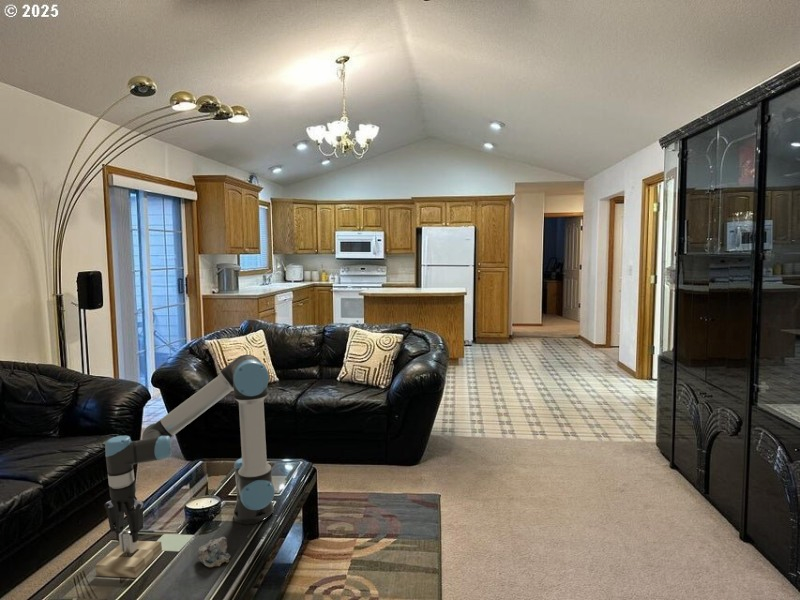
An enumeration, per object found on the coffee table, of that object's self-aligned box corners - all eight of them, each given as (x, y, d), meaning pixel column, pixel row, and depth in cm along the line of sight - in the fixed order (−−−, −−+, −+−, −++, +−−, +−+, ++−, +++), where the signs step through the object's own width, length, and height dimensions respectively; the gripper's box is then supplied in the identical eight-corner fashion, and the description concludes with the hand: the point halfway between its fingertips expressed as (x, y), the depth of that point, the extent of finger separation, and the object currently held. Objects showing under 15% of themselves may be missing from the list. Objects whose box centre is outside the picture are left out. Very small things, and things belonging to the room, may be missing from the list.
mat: (194, 536, 186) (194, 535, 186) (178, 552, 176) (178, 551, 176) (164, 534, 188) (164, 533, 188) (147, 551, 178) (147, 549, 178)
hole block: (162, 552, 177) (161, 541, 176) (136, 578, 163) (134, 566, 162) (125, 550, 179) (124, 540, 178) (96, 576, 165) (95, 565, 164)
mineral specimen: (213, 581, 168) (225, 555, 177) (227, 569, 165) (238, 543, 174) (189, 565, 166) (202, 540, 175) (202, 553, 163) (215, 528, 172)
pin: (137, 557, 172) (134, 529, 171) (131, 563, 169) (128, 534, 168) (129, 557, 172) (126, 529, 171) (123, 562, 169) (120, 534, 168)
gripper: (151, 478, 170) (157, 544, 173) (108, 478, 173) (115, 543, 175) (136, 489, 163) (143, 558, 165) (92, 488, 165) (99, 556, 168)
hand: (129, 550), depth 170 cm, fingers closed on pin, 3 cm apart
